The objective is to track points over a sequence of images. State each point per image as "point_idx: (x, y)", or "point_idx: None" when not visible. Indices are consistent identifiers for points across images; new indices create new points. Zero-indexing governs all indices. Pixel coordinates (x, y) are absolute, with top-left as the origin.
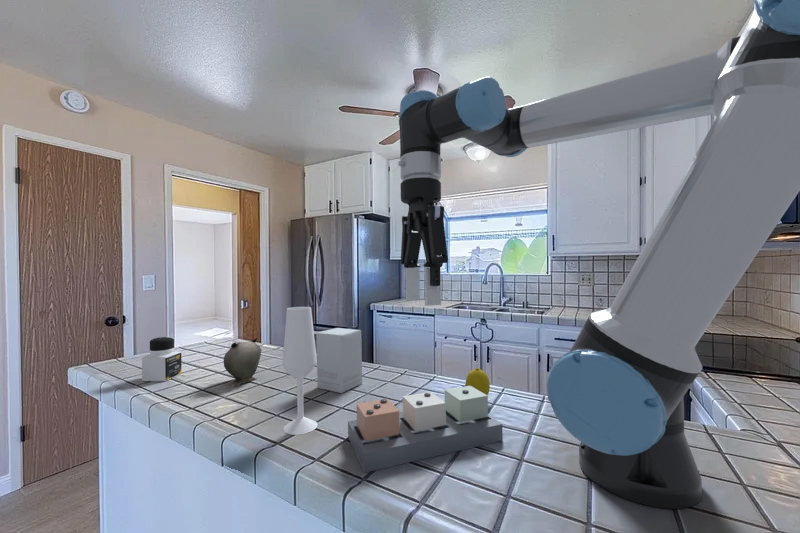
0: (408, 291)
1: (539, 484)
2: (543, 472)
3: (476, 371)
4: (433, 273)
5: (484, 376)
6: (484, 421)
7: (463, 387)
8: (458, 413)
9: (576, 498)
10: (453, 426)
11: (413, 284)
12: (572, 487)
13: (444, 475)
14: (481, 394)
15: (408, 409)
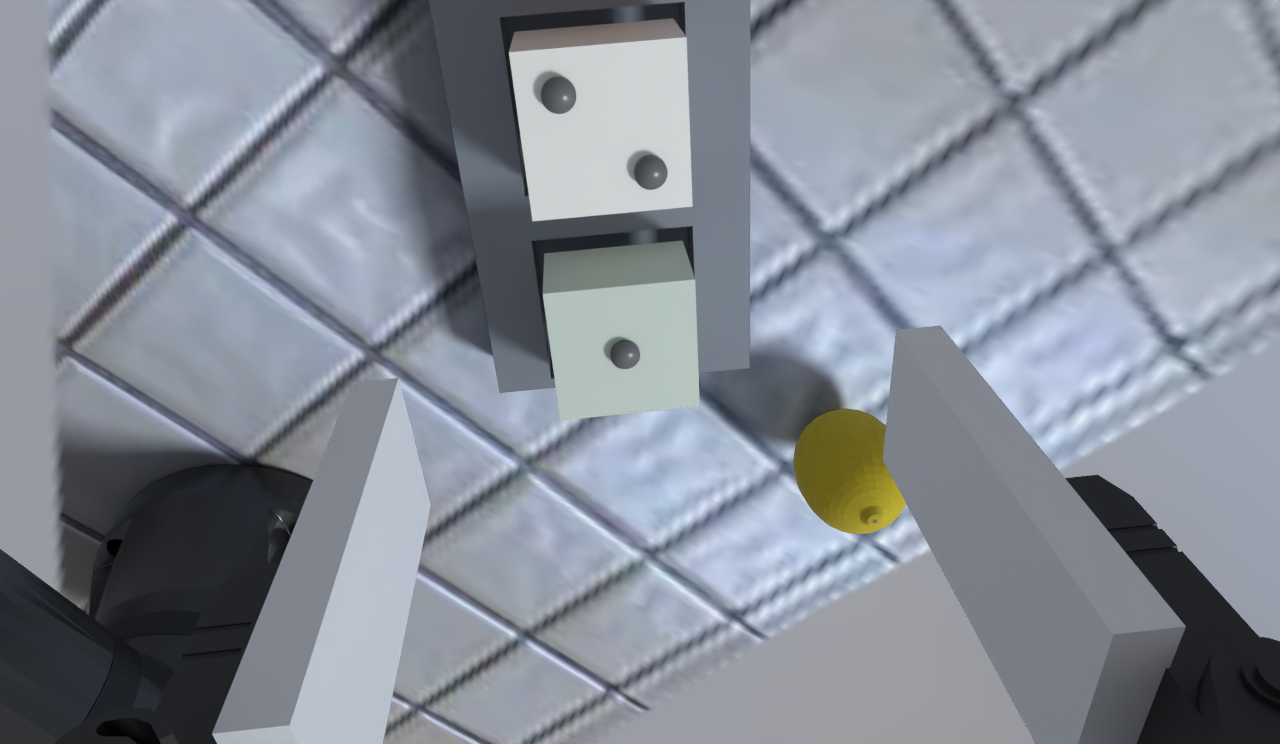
0: (934, 405)
1: (238, 332)
2: (296, 375)
3: (858, 503)
4: (159, 709)
5: (824, 514)
6: (538, 345)
7: (689, 370)
8: (560, 264)
9: (167, 383)
10: (528, 214)
11: (961, 520)
12: (216, 403)
13: (322, 66)
14: (580, 403)
15: (600, 36)
